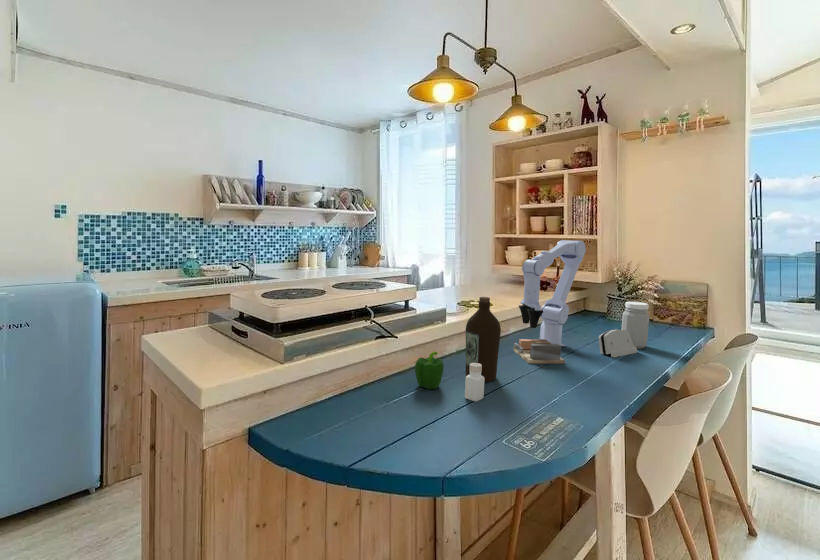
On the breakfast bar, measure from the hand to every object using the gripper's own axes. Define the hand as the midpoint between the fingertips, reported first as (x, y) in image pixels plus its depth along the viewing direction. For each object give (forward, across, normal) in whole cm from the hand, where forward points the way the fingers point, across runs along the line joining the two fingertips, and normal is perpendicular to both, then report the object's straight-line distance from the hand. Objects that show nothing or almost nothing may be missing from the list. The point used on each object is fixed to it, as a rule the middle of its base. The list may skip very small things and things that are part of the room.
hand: (529, 325), depth 164 cm
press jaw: (+8, +5, 0) cm, 9 cm away
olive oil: (+10, +32, -28) cm, 43 cm away
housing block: (+8, +12, 0) cm, 15 cm away
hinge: (+10, +4, +34) cm, 36 cm away
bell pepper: (+10, +39, -45) cm, 60 cm away
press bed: (+9, +10, 0) cm, 14 cm away
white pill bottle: (+10, +48, -34) cm, 60 cm away
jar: (+10, -5, +47) cm, 48 cm away
